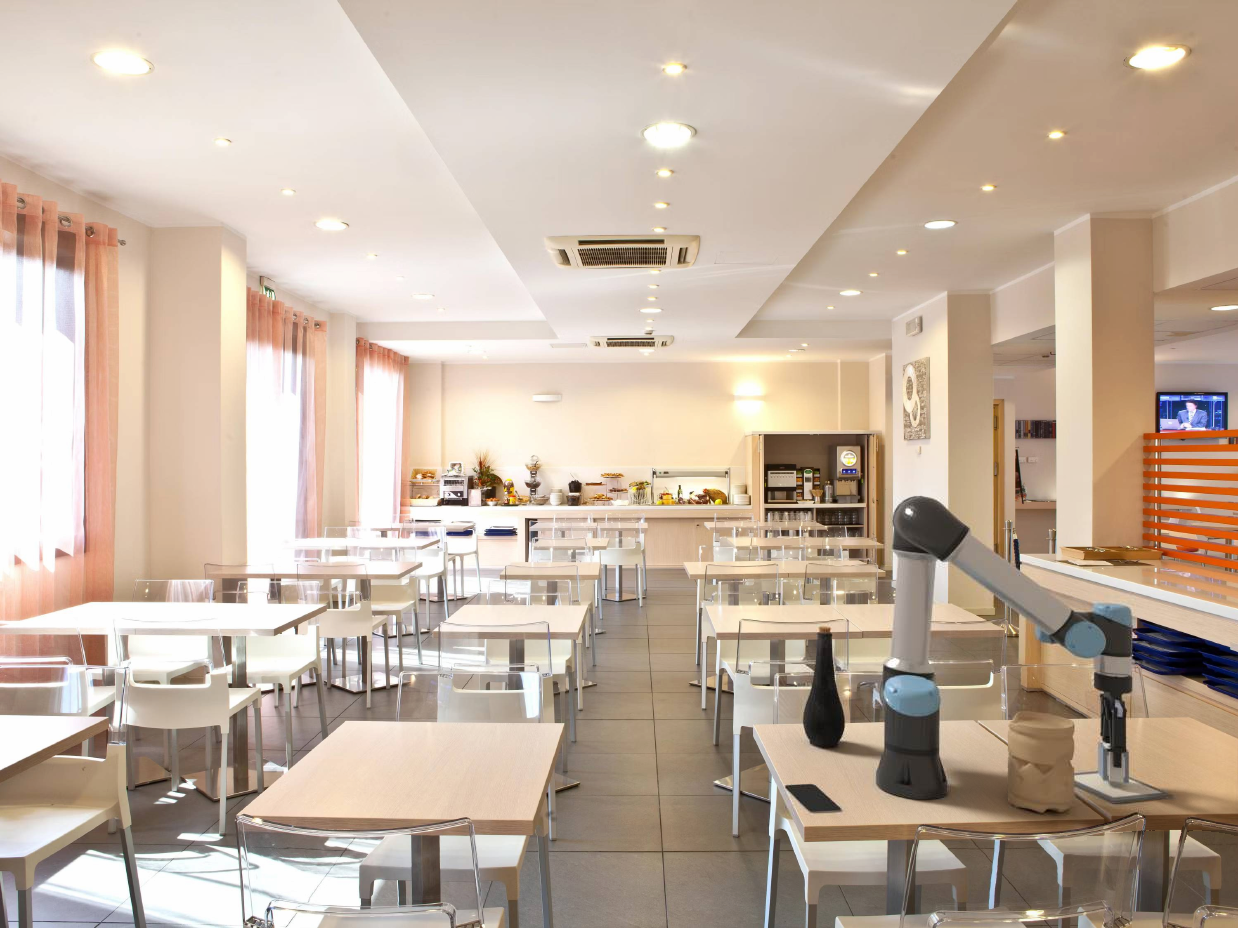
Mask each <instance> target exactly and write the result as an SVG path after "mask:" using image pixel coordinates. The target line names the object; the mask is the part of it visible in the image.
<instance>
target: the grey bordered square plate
mask: <svg viewBox="0 0 1238 928" xmlns="http://www.w3.org/2000/svg"><path fill="white" fill-rule="evenodd" d="M1074 787H1076V788H1079V789H1080V790H1083V791H1084V792H1087V793H1089V794H1091V795H1093V796H1095V797H1099V798H1100V799H1102V800H1105V801H1107V802H1109V803H1111V804H1113V805H1114V804H1115V805H1116V804H1123V803H1124V802H1125V803H1134V801H1135V802H1143V801H1153V800H1152V799H1154V800H1160V798H1164V799H1167V798H1166V797H1173V798H1174V794H1172V793H1170V792H1168V791H1165V790H1162V789H1160V788H1158V787H1155V786H1152V785H1150V784H1149V783H1145V782H1142V781H1141V780H1138V779H1135V778H1133V777H1130V776H1129V783H1121V782H1112V781H1103V779H1102V778H1101V777H1100V775H1099V774H1098V770H1094V771H1093V770H1092V771H1085V772H1084V771H1083V772H1074Z"/></svg>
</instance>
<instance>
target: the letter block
mask: <svg viewBox="0 0 1238 928" xmlns="http://www.w3.org/2000/svg"><path fill="white" fill-rule="evenodd" d="M1107 749H1110V743H1105V742H1097V771H1098V774H1099V775H1100V777H1101V778H1102V779H1103V781H1109V752H1107ZM1129 753H1130V751H1129V750H1128V749H1127V751H1126V753H1124V782H1121V783H1129V777H1130V774H1129V773H1130V770H1129V769H1130V760H1129V759H1130V755H1129ZM1112 782H1115V781H1112Z"/></svg>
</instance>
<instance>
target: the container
mask: <svg viewBox="0 0 1238 928" xmlns="http://www.w3.org/2000/svg"><path fill="white" fill-rule="evenodd" d="M1075 725H1076V724H1075V722H1074V721H1072V720H1071V719H1069V718H1067V717H1064V716H1060V715H1056V714H1053V713H1052V714H1051V713H1047V712H1045V713H1043V712H1037V711H1026V710H1025V711H1017V713H1015V715H1014V716H1013V718H1012V720H1010V721H1009V723H1008V728H1009V730H1007V752H1008V758H1007V788H1008V790H1007V799H1008V803H1009V804H1011V806H1014V807H1015V808H1016V809H1017V808H1021V809H1028V810H1032V811H1034V812H1037V813H1041V814H1043V813H1045V811H1046V810H1051V811H1054V812H1057V813H1062V812H1066V811H1068V810H1069V809H1070V808H1071V807H1072V805H1073V804H1074V799H1075V786H1074V773H1075V767H1073V765H1072V762H1071V761H1073V759H1074V754H1075V739H1074V734H1075V727H1076V726H1075Z"/></svg>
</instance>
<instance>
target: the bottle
mask: <svg viewBox="0 0 1238 928" xmlns="http://www.w3.org/2000/svg"><path fill="white" fill-rule="evenodd" d="M831 629H832V628H831V627H830V626H819V627H818V632H817V633H816V635H817V641H816V642H817V644H816V656H815V663H814V670H813V677H812V682H811V687H810V691H809V694H808V698H807V700H806V703H805V707H804V709H803V710H804V711H803V714H802V715H803V716H802V725H803V729H804V732H805V735H806V738H807V739H808V741H809V744H810V745H811V746H813V747H816V748H817V747H818V748H820V749H821V748H822V749H833V748H837V747H838V745H839V742H840V740H842V737H843V735H844V732H845V728H846V720H845V712H844V708H843V705H842V702H841V699H840V696H839V692H838V687H837V681H836V675H835V673H836V672H835V665H834V656H833V633H832V632H831Z"/></svg>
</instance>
